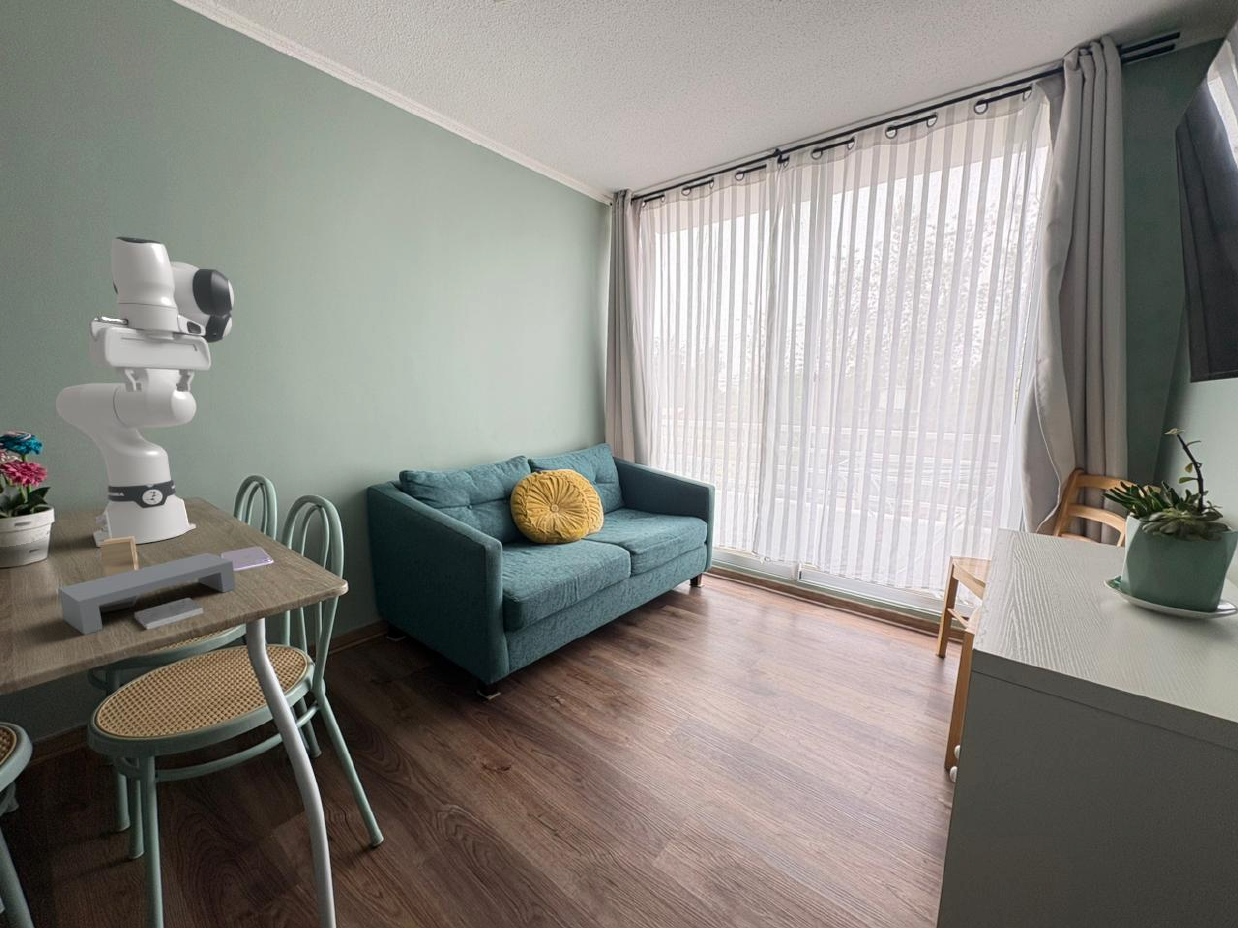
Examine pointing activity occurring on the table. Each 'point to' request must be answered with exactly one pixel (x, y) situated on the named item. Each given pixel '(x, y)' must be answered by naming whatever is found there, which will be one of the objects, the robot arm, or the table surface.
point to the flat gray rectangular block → (168, 613)
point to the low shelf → (140, 586)
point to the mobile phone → (247, 558)
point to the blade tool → (119, 566)
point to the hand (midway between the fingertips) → (160, 391)
